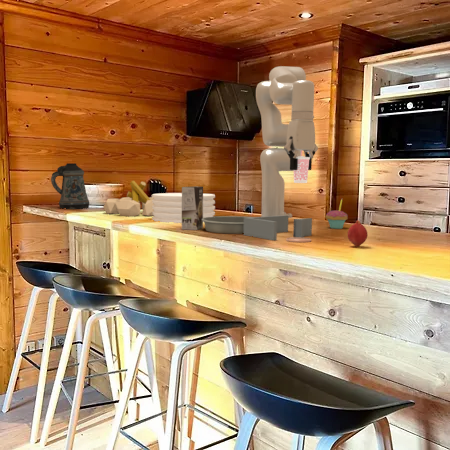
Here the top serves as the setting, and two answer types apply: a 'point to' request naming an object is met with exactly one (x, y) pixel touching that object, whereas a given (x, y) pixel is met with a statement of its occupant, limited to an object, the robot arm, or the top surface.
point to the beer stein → (71, 187)
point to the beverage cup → (301, 169)
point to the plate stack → (177, 207)
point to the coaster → (298, 239)
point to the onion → (357, 234)
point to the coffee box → (192, 208)
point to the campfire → (131, 202)
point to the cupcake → (336, 218)
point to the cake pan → (225, 224)
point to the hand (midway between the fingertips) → (300, 169)
